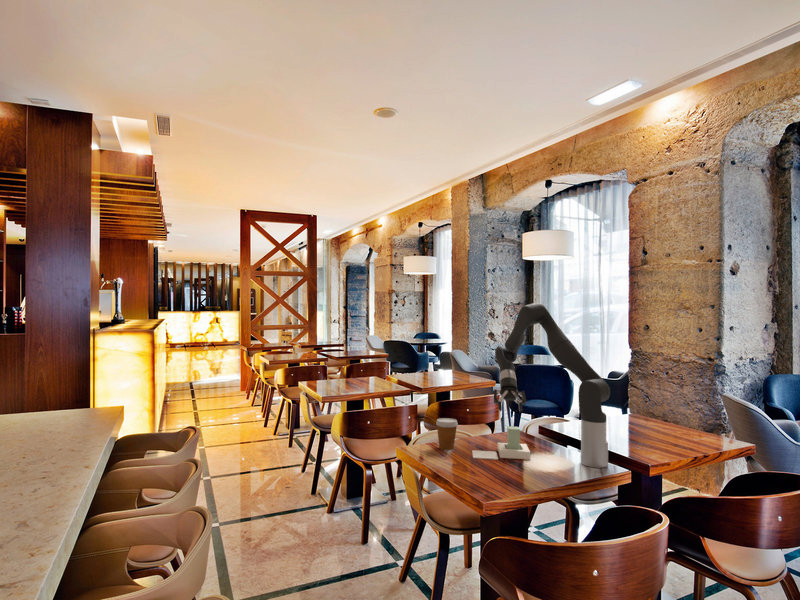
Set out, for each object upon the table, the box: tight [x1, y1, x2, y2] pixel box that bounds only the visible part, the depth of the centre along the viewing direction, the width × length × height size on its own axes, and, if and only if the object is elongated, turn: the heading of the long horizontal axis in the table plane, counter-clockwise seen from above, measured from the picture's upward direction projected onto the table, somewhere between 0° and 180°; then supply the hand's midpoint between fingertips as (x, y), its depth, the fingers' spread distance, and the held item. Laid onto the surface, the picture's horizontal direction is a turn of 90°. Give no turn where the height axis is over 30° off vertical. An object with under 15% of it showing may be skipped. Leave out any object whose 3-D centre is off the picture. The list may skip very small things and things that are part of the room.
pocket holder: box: [497, 442, 531, 460], centre depth 195 cm, size 12×12×3 cm
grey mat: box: [471, 450, 499, 461], centre depth 192 cm, size 10×10×1 cm
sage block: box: [506, 425, 521, 450], centre depth 195 cm, size 5×5×11 cm
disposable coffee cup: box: [435, 417, 459, 451], centre depth 202 cm, size 10×10×12 cm
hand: (510, 410), depth 207 cm, fingers open, 8 cm apart
